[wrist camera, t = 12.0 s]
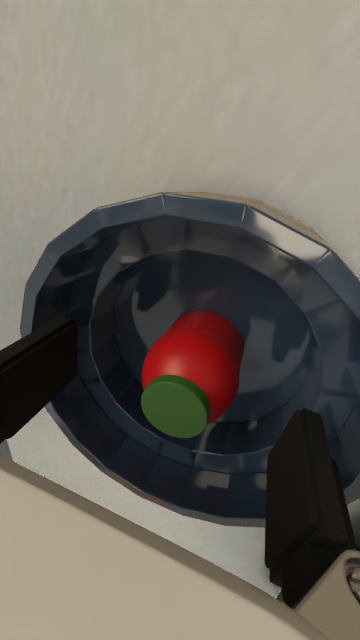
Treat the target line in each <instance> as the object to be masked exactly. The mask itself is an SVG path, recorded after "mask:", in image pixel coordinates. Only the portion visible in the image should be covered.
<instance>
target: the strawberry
mask: <svg viewBox="0 0 360 640" xmlns="http://www.w3.org/2000/svg"><path fill="white" fill-rule="evenodd" d="M242 358H243V342H242V338H241V336H240V334H239V332H238V331H237V329H236V328H235V327H234V325H233V324H232V323H231V322H229V321H228V320H227V319H225V318H224V317H222V316H220V315H218V314H216V313H213V312H209V311H192V312H188V313H186V314H184V315H182V316H180V317H179V318H178V319H177V320H176V321H175V322H174V323H173V324H172V325H171V327H170V328H169V329H168V330H167V332H166V333H165V334H164V335H163V336H162V337H161V338H159V339H158V340H157V341H156V342H155V343H154V344H153V345H152V347H151V348H150V350H149V351H148V353H147V355H146V357H145V360H144V363H143V367H142V386H143V393H142V396H141V407H142V410H143V413H144V415H145V416H146V418H147V419H148V420H149V422H150V423H151V424H152V425H153V426H154V427H156V428H157V429H158V430H160V431H162V432H163V433H165V434H168V435H170V436H173V437H178V438H191V437H194V436H197V435H199V434H200V433H201V432H202V431H203V430H204V429H205V428H206V426H207V424H209V423H211V422H214V421H215V420H217V419H218V418H220V417H221V416H222V415H223V414H225V413H226V411H227V410H228V409H229V408H230V407H231V405H232V403H233V401H234V400H235V398H236V395H237V392H238V388H239V380H240V377H239V372H240V367H241V362H242Z"/></svg>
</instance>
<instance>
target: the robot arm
mask: <svg viewBox="0 0 360 640" xmlns="http://www.w3.org/2000/svg"><path fill="white" fill-rule="evenodd" d="M77 352H78V325H76V322H75V321H74V320H73V319H70V318H67V317H65V316H59V317H58V318H56V319H54V320H52V321H51V322H49V323H47V324H45V325H44V326H42V327H40V328H39V329H37V330H35V331H33V332H32V333H30V334H28V335H27V336H25V337H23V338H21V339H20V340H18V341H16V342H14V343H13V344H11V345H9V346H8V347H6V348H4V349H2V350H1V351H0V443H1V442H3V441H4V440H5V439H9V438H11V437H12V436H14V435H15V434H16V433H17V432H18V431H19V430H20V429H21V428H22V427H23V426H24V425H25V424H26V423H28V422H29V421H30V420H31V419H32V418H33V417H34V416H35V415H36V414H37V413H38V412H39V411H40V410H41V409H42V408H44V407H45V406H46V405H47V404H48V403H49V402H50V401H51V400H52V399H53V398H54V397H55V396H56V395H57V394H58V393H60V392H61V391H62V390H63V389H64V388H65V387H66V386H67V385H68V384H69V383H70V382H71V381H72V380H73V379H74V378H75V376H76V374H77ZM265 565H266V567H268V568H270V582H271V583H273V584H275V585H277V586H279V587H281V588H282V599H283V601H284V603H282V602H280V601H279V600H277V599H275V598H274V597H272V596H270V595H269V594H267V593H265V592H264V591H262V590H260V589H259V588H257V587H255V586H253V585H252V584H250V583H248V582H246V581H244V580H242V579H240V578H239V577H237V576H235V575H233V574H231V573H229V572H227V571H225V570H224V569H222V568H220V567H218V566H216V565H214V564H212V563H211V562H209V561H207V560H205V559H203V558H201V557H199V556H197V555H195V554H193V553H191V552H189V551H188V550H186V549H184V548H182V547H180V546H178V545H176V544H174V543H172V542H170V541H168V540H166V539H164V538H162V537H160V536H158V535H156V534H155V533H153V532H151V531H149V530H147V529H145V528H143V527H141V526H139V525H137V524H135V523H133V522H131V521H129V520H127V519H125V518H123V517H121V516H119V515H117V514H116V513H114V512H112V511H110V510H108V509H106V508H104V507H102V506H100V505H98V504H96V503H94V502H92V501H90V500H88V499H86V498H84V497H82V496H80V495H78V494H76V493H74V492H72V491H70V490H68V489H66V488H64V487H62V486H60V485H58V484H56V483H55V482H53V481H51V480H49V479H47V478H45V477H43V476H41V475H39V474H37V473H35V472H33V471H31V470H29V469H27V468H25V467H23V466H21V465H19V464H17V463H15V462H13V461H11V460H9V459H7V458H5V457H3V456H1V455H0V640H360V552H359V551H357V547H356V542H355V538H354V534H353V530H352V525H351V521H350V517H349V513H348V508H347V504H346V500H345V496H344V491H343V487H342V483H341V478H340V474H339V470H338V466H337V463H336V461H335V460H334V459H332V458H331V457H330V452H329V448H328V443H327V439H326V434H325V429H324V425H323V420H322V416H321V415H320V414H319V413H316V412H313V411H311V410H308V409H306V408H303V409H302V410H301V411H300V410H296V411H295V413H294V414H293V416H292V418H291V419H290V421H289V422H288V424H287V426H286V427H285V429H284V430H283V432H282V434H281V435H280V437H279V439H278V440H277V442H276V443H275V445H274V447H273V448H272V450H271V451H270V453H269V456H268V459H267V484H266V528H265Z"/></svg>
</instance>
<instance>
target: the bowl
mask: <svg viewBox="0 0 360 640" xmlns="http://www.w3.org/2000/svg"><path fill="white" fill-rule="evenodd" d="M192 311H209V312H213V313H216V314H218V315H220V316H222V317H224V318H225V319H227V320H228V321H229V322H231V323H232V324H233V325H234V327H235V328H236V329H237V331H238V332H239V334H240V336H241V338H242V342H243V358H242V362H241V367H240V372H239V377H240V380H239V388H238V392H237V395H236V398H235V400H234V401H233V403H232V405H231V407H230V408H229V409H228V410H227V411H226V413H225V414H223V415H222V416H221V417H220V418H218V419H217V420H215V421H214V422H211V423H209V424H207V426H206V428H205V429H204V430H203V431H202V432H201V433H200V434H199V435H197V436H194V437H191V438H178V437H173V436H170V435H168V434H165V433H163V432H162V431H160V430H158V429H157V428H156V427H154V426H153V425H152V424H151V423H150V422H149V420H148V419H147V418H146V416H145V415H144V413H143V410H142V407H141V396H142V393H143V386H142V367H143V363H144V360H145V357H146V355H147V353H148V351H149V350H150V348H151V347H152V345H153V344H154V343H155V342H156V341H157V340H158V339H159V338H161V337H162V336H163V335H164V334H165V333H166V332H167V330H168V329H169V328H170V327H171V325H172V324H173V323H174V322H175V321H176V320H177V319H178V318H179V317H180V316H182V315H184V314H186V313H188V312H192ZM59 316H65V317H67V318H70V319H73V320H74V321H75V322H76V325H78V352H77V374H76V376H75V378H74V379H73V380H72V381H71V382H70V383H69V384H68V385H67V386H66V387H65V388H64V389H63V390H62V391H61V392H60V393H58V394H57V395H56V396H55V397H54V398H53V399H52V400H51V401H50V402H49V403H48V404H47V405H46V406H45V408H46V409H47V412H48V413H49V414H50V416H51V417H52V418H53V420H54V421H55V422H56V424H57V425H58V426H59V428H60V429H61V430H62V431H63V433H64V434H65V435H66V437H67V438H68V439H69V441H70V442H71V443H72V445H73V446H74V447H76V448H77V449H78V450H79V451H80V452H81V453H82V454H83V455H84V456H85V457H86V458H87V459H89V460H90V461H91V462H92V463H93V464H94V465H95V466H96V467H97V468H98V469H99V470H100V471H102V472H104V474H106V475H107V476H109V477H111V478H112V479H114V480H115V481H117V482H118V483H120V484H121V485H123V486H124V487H126V488H127V489H129V490H130V491H132V492H134V493H135V494H137V495H138V496H140V497H142V498H144V499H146V500H149V501H151V502H153V503H156V504H158V505H160V506H162V507H165V508H167V509H169V510H172V511H174V512H176V513H178V514H181V515H183V516H188V517H192V518H196V519H200V520H204V521H208V522H212V523H216V524H220V525H224V526H226V525H227V526H242V527H266V484H267V459H268V456H269V453H270V451H271V450H272V448H273V447H274V445H275V443H276V442H277V440H278V439H279V437H280V435H281V434H282V432H283V430H284V429H285V427H286V426H287V424H288V422H289V421H290V419H291V418H292V416H293V414H294V413H295V411H296V410H300V411H301V410H302V409H303V408H306V409H308V410H311V411H313V412H316V413H319V414H320V415H321V416H322V420H323V425H324V429H325V434H326V439H327V443H328V448H329V452H330V457H331V458H332V459H334V460H335V461H336V463H337V466H338V470H339V474H340V478H341V483H342V487H343V491H344V496H345V500H346V504H349V503H351V502H353V501H355V500H356V499H358V498H360V280H359V279H358V278H357V277H356V276H355V275H354V274H353V272H352V271H351V270H350V269H349V268H348V267H347V266H346V264H345V263H344V262H343V261H342V260H341V259H340V258H339V256H338V255H337V254H336V253H335V252H334V251H333V250H332V249H331V248H330V246H329V245H328V244H327V243H326V242H325V241H324V240H323V239H322V238H321V237H320V236H319V235H318V234H317V233H316V232H315V231H314V230H313V229H312V228H311V227H309V226H307V225H306V224H304V223H302V222H300V221H298V220H296V219H294V218H292V217H291V216H289V215H287V214H285V213H283V212H281V211H279V210H277V209H275V208H274V207H272V206H270V205H268V204H266V203H264V202H262V201H259V200H257V199H250V198H243V197H235V196H228V195H221V194H214V193H206V192H161V193H157V194H153V195H149V196H144V197H140V198H136V199H132V200H127V201H123V202H119V203H115V204H110V205H106V206H102V207H98V208H96V209H93V210H92V211H91V212H89V213H88V214H87V215H85V216H84V217H83V218H81V219H80V220H79V221H77V222H76V223H75V224H73V225H72V226H71V227H69V228H68V229H67V230H65V231H64V232H63V233H61V234H60V235H59V236H57V237H56V238H55V239H53V240H52V241H51V242H50V243H49V244H48V245H47V247H46V249H45V250H44V252H43V254H42V256H41V258H40V259H39V261H38V263H37V265H36V267H35V269H34V270H33V272H32V274H31V276H30V278H29V279H28V281H27V283H26V287H25V293H24V302H23V310H22V318H21V326H20V329H21V330H20V332H21V337H22V338H23V337H25V336H27V335H28V334H30V333H32V332H33V331H35V330H37V329H39V328H40V327H42V326H44V325H45V324H47V323H49V322H51V321H52V320H54V319H56V318H58V317H59Z"/></svg>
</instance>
